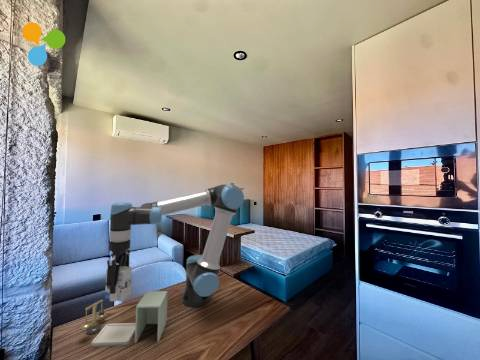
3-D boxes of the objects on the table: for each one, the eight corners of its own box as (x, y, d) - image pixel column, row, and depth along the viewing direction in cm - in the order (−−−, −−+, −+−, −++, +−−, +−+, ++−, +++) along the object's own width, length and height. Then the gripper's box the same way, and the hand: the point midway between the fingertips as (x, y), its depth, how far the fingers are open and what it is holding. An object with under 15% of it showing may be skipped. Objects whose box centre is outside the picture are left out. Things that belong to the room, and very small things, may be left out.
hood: (166, 322, 92) (167, 291, 92) (158, 341, 81) (159, 306, 81) (145, 323, 91) (146, 291, 91) (134, 342, 80) (136, 306, 80)
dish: (138, 326, 89) (139, 322, 89) (127, 345, 79) (127, 341, 79) (106, 327, 88) (106, 323, 88) (90, 346, 77) (91, 342, 78)
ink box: (104, 298, 82) (105, 269, 82) (114, 292, 87) (114, 264, 87) (122, 301, 81) (123, 272, 81) (131, 294, 86) (132, 267, 86)
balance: (88, 343, 79) (89, 311, 79) (75, 343, 78) (76, 311, 79) (109, 318, 93) (110, 291, 93) (98, 319, 93) (99, 291, 93)
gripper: (122, 234, 93) (120, 284, 93) (96, 246, 74) (93, 310, 74) (139, 234, 94) (137, 284, 93) (117, 247, 75) (114, 310, 75)
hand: (117, 295), depth 84 cm, fingers closed on ink box, 6 cm apart
